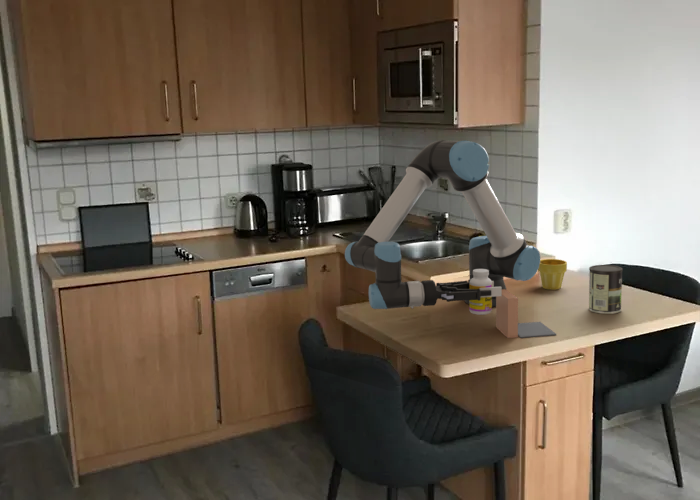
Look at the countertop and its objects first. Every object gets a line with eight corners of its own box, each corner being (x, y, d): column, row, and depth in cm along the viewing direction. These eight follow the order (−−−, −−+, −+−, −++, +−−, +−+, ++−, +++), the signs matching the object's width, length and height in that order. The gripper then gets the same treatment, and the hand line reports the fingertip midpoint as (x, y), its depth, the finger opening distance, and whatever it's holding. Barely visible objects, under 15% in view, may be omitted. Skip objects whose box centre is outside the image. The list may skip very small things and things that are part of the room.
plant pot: (569, 290, 275) (570, 264, 273) (541, 291, 275) (541, 265, 273) (562, 283, 285) (562, 258, 283) (534, 284, 285) (534, 259, 283)
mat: (520, 338, 223) (520, 336, 223) (506, 325, 236) (506, 324, 236) (556, 335, 225) (556, 333, 224) (540, 322, 237) (540, 321, 237)
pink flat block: (507, 338, 224) (508, 298, 221) (496, 327, 235) (496, 289, 232) (517, 337, 224) (518, 298, 222) (505, 326, 235) (505, 289, 233)
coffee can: (618, 305, 253) (620, 264, 250) (623, 314, 243) (624, 271, 240) (586, 305, 255) (587, 264, 252) (589, 313, 245) (590, 271, 242)
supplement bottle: (486, 316, 222) (486, 273, 220) (465, 313, 226) (465, 271, 223) (495, 310, 228) (495, 269, 225) (474, 308, 231) (474, 267, 229)
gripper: (414, 297, 234) (487, 292, 236) (429, 314, 215) (507, 309, 217) (414, 273, 232) (487, 269, 235) (428, 289, 213) (508, 283, 216)
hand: (497, 288), depth 226 cm, fingers closed on supplement bottle, 7 cm apart
